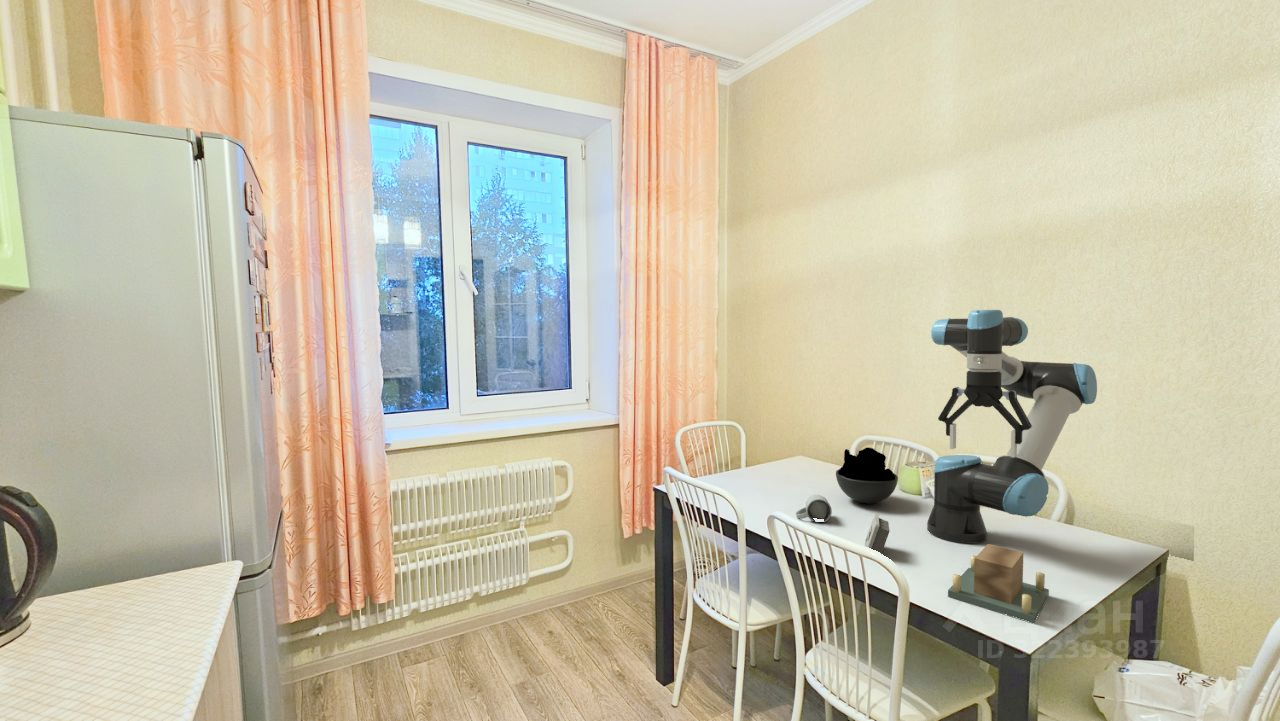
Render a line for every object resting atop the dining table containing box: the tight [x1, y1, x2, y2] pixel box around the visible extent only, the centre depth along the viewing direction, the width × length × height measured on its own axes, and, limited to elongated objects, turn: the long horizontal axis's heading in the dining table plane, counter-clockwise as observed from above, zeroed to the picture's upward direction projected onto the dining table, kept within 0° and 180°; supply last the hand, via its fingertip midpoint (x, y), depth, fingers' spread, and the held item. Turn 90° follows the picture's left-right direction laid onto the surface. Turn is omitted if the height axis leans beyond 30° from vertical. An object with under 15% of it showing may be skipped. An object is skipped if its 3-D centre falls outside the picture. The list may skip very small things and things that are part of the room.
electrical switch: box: [864, 513, 891, 554], centre depth 146 cm, size 9×5×9 cm, turn 158°
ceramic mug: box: [795, 494, 833, 523], centre depth 172 cm, size 11×8×8 cm
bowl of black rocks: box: [835, 447, 899, 505], centre depth 186 cm, size 20×20×19 cm
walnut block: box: [974, 543, 1024, 604], centre depth 121 cm, size 7×11×8 cm, turn 134°
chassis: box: [947, 554, 1050, 624], centre depth 121 cm, size 16×16×5 cm
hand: (982, 452), depth 138 cm, fingers open, 13 cm apart
